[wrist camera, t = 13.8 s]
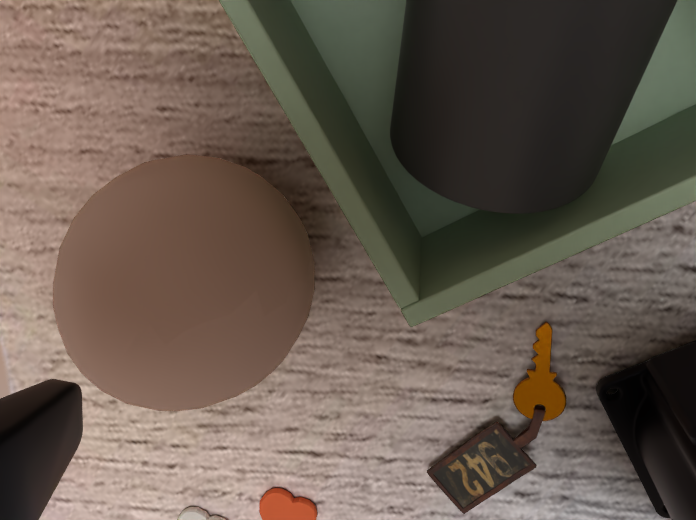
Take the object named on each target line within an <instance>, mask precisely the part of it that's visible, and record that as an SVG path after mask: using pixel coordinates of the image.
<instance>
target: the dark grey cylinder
mask: <svg viewBox="0 0 696 520" xmlns="http://www.w3.org/2000/svg"><path fill="white" fill-rule="evenodd" d="M676 2H677V0H406V7H405V15H404V23H403V31H402V39H401V46H400V54H399V62H398V70H397V78H396V86H395V94H394V102H393V110H392V118H391V126H390V139H391V144H392V147H393V150H394V152H395V154H396V157H397V158H398V160H399V161H400V163H401V164H402V166H403V167H404V168H405V169H406V170H407V171H408V173H409V174H410V175H412V176H413V177H414V178H415V179H416V180H417V181H418V182H420V183H421V184H423V185H424V186H425V187H427V188H428V189H430V190H432V191H433V192H435V193H437V194H439V195H441V196H443V197H445V198H447V199H449V200H452V201H454V202H457V203H460V204H462V205H465V206H468V207H472V208H476V209H480V210H485V211H491V212H498V213H511V214H523V213H535V212H543V211H547V210H551V209H555V208H558V207H561V206H563V205H566V204H568V203H570V202H572V201H574V200H576V199H577V198H578V197H580V196H581V195H582V194H584V193H585V192H586V191H587V190H588V189H589V188H590V187H591V185H592V184H593V182H594V181H595V179H596V177H597V175H598V173H599V170H600V168H601V166H602V164H603V162H604V160H605V157H606V155H607V153H608V151H609V149H610V146H611V144H612V142H613V140H614V138H615V136H616V133H617V131H618V129H619V127H620V125H621V122H622V120H623V118H624V116H625V114H626V112H627V109H628V107H629V105H630V103H631V101H632V98H633V96H634V94H635V92H636V90H637V88H638V85H639V83H640V81H641V79H642V77H643V74H644V72H645V70H646V68H647V66H648V64H649V61H650V59H651V57H652V55H653V53H654V50H655V48H656V46H657V44H658V42H659V40H660V37H661V35H662V33H663V31H664V29H665V26H666V24H667V22H668V20H669V18H670V16H671V13H672V11H673V9H674V7H675V5H676Z"/></svg>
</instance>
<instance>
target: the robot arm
mask: <svg viewBox="0 0 696 520" xmlns="http://www.w3.org/2000/svg"><path fill="white" fill-rule="evenodd" d="M612 388H616V389H618V390H617V391H616V392H615V393H613V394H607V391H608V390H609V389H612ZM596 392H597V395H598V397H599V399H600V401H601V403H602V405H603V407H604V409H605V411H606V413H607V415H608V417H609V419H610V421H611V423H612V425H613V427H614V429H615V431H616V433H617V435H618V437H619V439H620V441H621V443H622V445H623V447H624V449H625V451H626V453H627V455H628V457H629V459H630V460H631V462H632V464H633V466H634V468H635V470H636V472H637V474H638V476H639V478H640V480H641V482H642V484H643V486H644V488H645V490H646V492H647V494H648V496H649V498H650V500H651V502H652V504H653V506H654V508H655V510H656V512H657V513H658V514H659V515H660V516H662V517H665V518H671V519H672V520H696V341H694V342H691V343H689V344H686V345H684V346H681V347H678V348H676V349H673V350H670V351H668V352H665V353H663V354H660V355H657V356H655V357H652V358H651V359H650V360H649V361H646V362H643V363H641V364H638V365H635V366H633V367H630V368H628V369H625V370H622V371H620V372H617V373H615V374H612V375H609V376H607V377H604V378H603V379H601V380H600V381H599V382H598V383H597V386H596ZM82 432H83V418H82V392H81V388H80V386H79V385H77V384H76V383H72V382H67V381H62V380H56V379H50V380H47V381H44V382H42V383H39V384H36V385H34V386H31V387H29V388H26V389H24V390H21V391H19V392H16V393H13V394H11V395H8V396H6V397H3V398H1V399H0V520H39V518H40V516H41V514H42V512H43V511H44V509H45V507H46V505H47V503H48V501H49V500H50V498H51V496H52V494H53V492H54V490H55V489H56V487H57V485H58V483H59V481H60V479H61V478H62V476H63V474H64V472H65V470H66V468H67V466H68V465H69V463H70V461H71V459H72V457H73V455H74V454H75V452H76V450H77V448H78V446H79V444H80V441H81V438H82Z"/></svg>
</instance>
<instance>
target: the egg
mask: <svg viewBox="0 0 696 520" xmlns="http://www.w3.org/2000/svg"><path fill="white" fill-rule="evenodd" d="M314 289H315V264H314V260H313V255H312V251H311V246H310V242H309V237H308V235H307V232H306V230H305V228H304V226H303V224H302V222H301V219H300V218H299V216H298V215H297V213H296V212H295V211H294V209H293V208H292V207H291V205H290V204H289V202H288V201H287V200H286V198H285V197H284V196H283V194H282V193H280V192H279V191H278V190H277V189H276V188H274V187H273V186H272V185H271V184H270V183H268V182H267V181H266V180H265V179H264V178H262V177H261V176H259V175H258V174H256V173H254V172H253V171H251V170H249V169H248V168H246V167H243V166H240V165H238V164H235V163H232V162H229V161H226V160H223V159H220V158H215V157H207V156H199V155H188V154H186V155H180V156H175V157H169V158H163V159H158V160H152V161H149V162H145V163H142V164H140V165H138V166H136V167H134V168H133V169H131V170H129V171H127V172H125V173H123V174H121V175H119V176H117V177H116V178H114V179H113V180H112V181H111V182H109V183H108V184H107V185H105V186H104V187H103V188H101V189H100V190H99V191H97V192H96V193H95V194H93V196H92V197H91V198H90V199H89V200H88V202H87V203H86V204H85V205H84V206H83V208H82V209H81V210H80V211H79V213H78V214H77V215H76V216H75V217H74V219H73V221H72V223H71V225H70V227H69V229H68V232H67V234H66V236H65V238H64V240H63V242H62V244H61V246H60V249H59V255H58V260H57V266H56V271H55V276H54V282H53V308H54V313H55V318H56V322H57V326H58V329H59V332H60V335H61V338H62V340H63V343H64V345H65V348H66V350H67V353H68V355H69V356H70V358H71V359H72V361H73V362H74V363H75V365H76V366H77V368H78V369H79V370H80V372H81V373H82V374H83V375H84V376H85V377H86V378H88V379H89V380H90V381H91V382H92V383H93V384H94V385H95V386H97V387H98V388H99V389H100V390H101V391H103V392H105V393H107V394H109V395H111V396H113V397H115V398H117V399H119V400H121V401H123V402H125V403H127V404H130V405H134V406H139V407H144V408H149V409H153V410H158V411H182V410H190V409H199V408H204V407H207V406H210V405H213V404H216V403H219V402H222V401H224V400H227V399H230V398H233V397H236V396H238V395H240V394H241V393H243V392H245V391H247V390H249V389H250V388H252V387H254V386H256V385H257V384H258V383H259V382H261V381H262V380H263V379H264V378H266V377H267V376H268V375H269V374H271V373H272V372H273V371H274V370H275V369H276V368H277V367H278V365H279V364H280V363H281V362H282V361H283V360H284V358H285V357H286V355H287V354H288V353H289V351H290V349H291V348H292V346H293V345H294V343H295V341H296V340H297V338H298V337H299V335H300V333H301V331H302V329H303V326H304V324H305V322H306V320H307V318H308V316H309V312H310V308H311V303H312V298H313V294H314Z"/></svg>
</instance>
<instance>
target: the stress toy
mask: <svg viewBox="0 0 696 520" xmlns="http://www.w3.org/2000/svg"><path fill="white" fill-rule="evenodd" d="M260 515H261V517H262V519H263V520H316V517H317V510H316V506H315V505H314V504H313V503H312V502H311V501H310V500H308V499H305V498H302V497H296V498H294V497H293V496H292V494H291V493H290V492H288V491H286V490H284V489H282V488H273V489H271V490H269V491H267V492H266V493H265V494H264V496H263V497H262V499H261V500H260ZM177 520H226V519H225V518H223V517H220V516H217V515H214V516H209V514H208V513H207V511H205V510H203V509H201V508H199V507H189V508H187V509H185V510H183V511H182V513H181V514H180V516H179V517H178V519H177Z"/></svg>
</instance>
